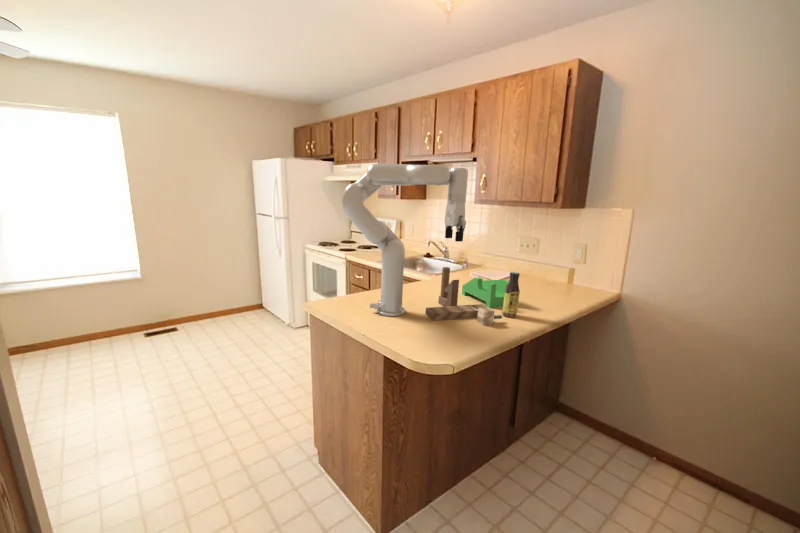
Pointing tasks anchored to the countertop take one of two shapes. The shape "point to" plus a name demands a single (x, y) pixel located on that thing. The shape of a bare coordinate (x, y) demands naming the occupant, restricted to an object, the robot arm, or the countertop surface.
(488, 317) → the block
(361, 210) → the robot arm
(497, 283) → the green cradle stand
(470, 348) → the countertop surface
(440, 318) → the walnut board
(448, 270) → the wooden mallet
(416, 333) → the countertop surface
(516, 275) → the sauce bottle
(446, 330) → the countertop surface
